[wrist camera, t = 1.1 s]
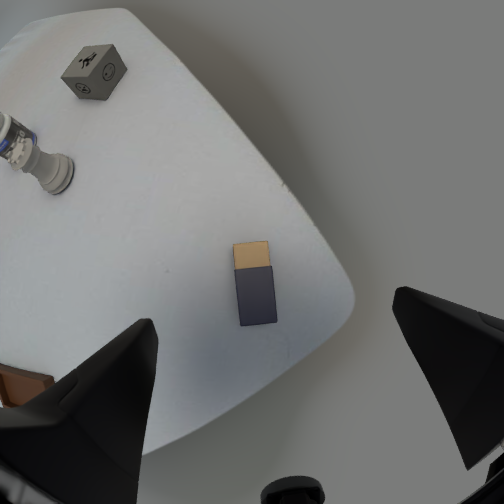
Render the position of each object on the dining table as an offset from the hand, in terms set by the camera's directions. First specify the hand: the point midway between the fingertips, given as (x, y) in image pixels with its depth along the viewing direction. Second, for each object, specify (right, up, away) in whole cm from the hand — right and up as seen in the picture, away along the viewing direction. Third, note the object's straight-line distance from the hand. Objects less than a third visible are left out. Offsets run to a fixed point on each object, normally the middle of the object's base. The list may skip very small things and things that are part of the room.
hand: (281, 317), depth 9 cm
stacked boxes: (-1, 0, +14) cm, 14 cm away
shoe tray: (-29, -15, +12) cm, 35 cm away
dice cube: (-19, +23, +16) cm, 34 cm away
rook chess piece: (-22, +11, +15) cm, 28 cm away
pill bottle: (-31, +16, +15) cm, 37 cm away
